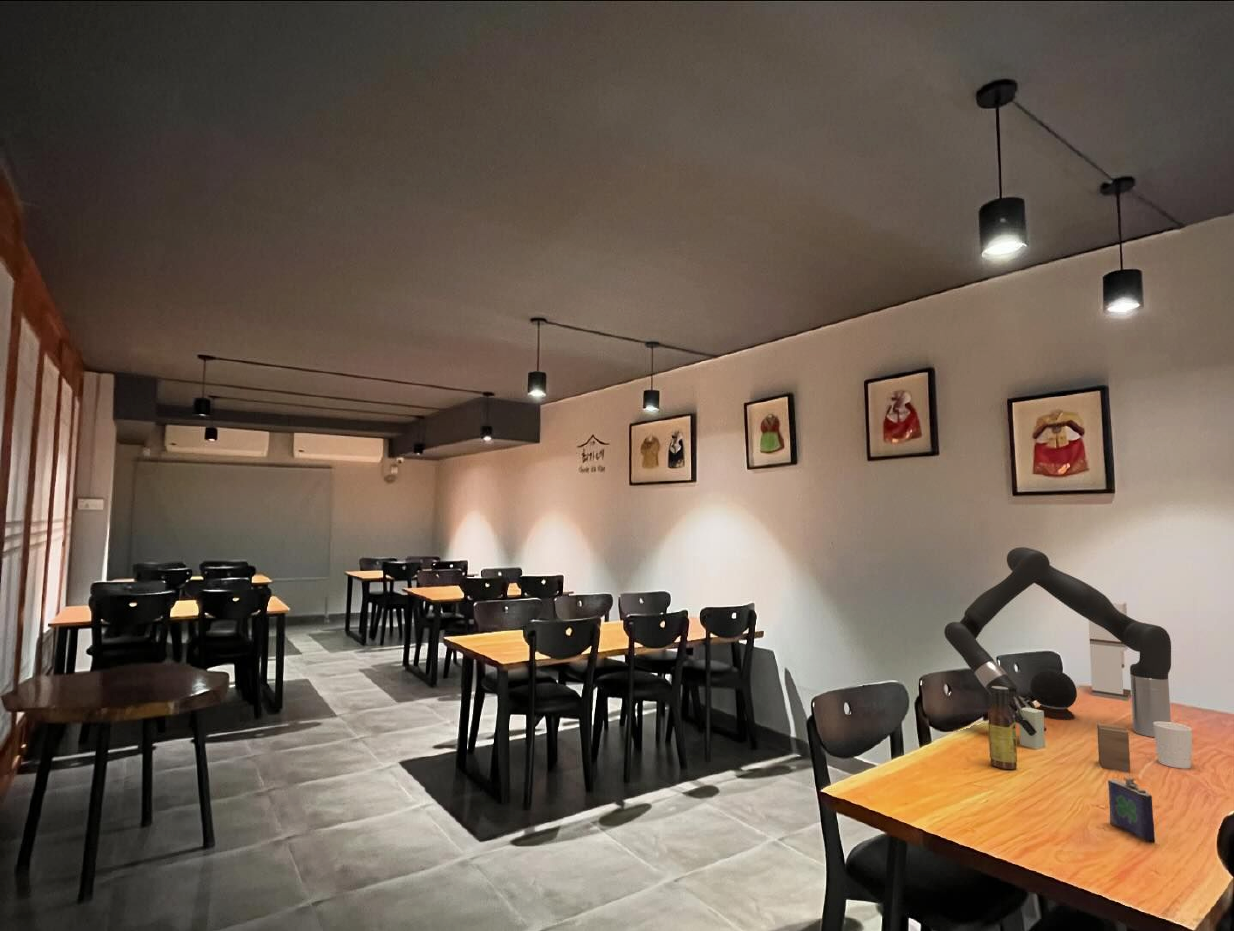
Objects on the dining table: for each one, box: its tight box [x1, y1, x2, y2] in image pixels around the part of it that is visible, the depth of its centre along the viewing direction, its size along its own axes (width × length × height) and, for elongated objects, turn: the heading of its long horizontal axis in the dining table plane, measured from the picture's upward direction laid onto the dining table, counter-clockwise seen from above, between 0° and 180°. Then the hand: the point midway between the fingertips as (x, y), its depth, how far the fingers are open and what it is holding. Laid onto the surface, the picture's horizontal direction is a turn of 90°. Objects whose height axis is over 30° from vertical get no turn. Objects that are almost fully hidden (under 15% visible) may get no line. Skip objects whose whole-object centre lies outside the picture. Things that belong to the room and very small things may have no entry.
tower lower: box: [1097, 743, 1132, 774], centre depth 174 cm, size 6×6×5 cm
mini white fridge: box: [1088, 601, 1131, 701], centre depth 254 cm, size 11×11×35 cm
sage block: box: [1018, 708, 1046, 750], centre depth 190 cm, size 4×4×10 cm
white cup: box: [1153, 722, 1193, 770], centre depth 177 cm, size 8×8×10 cm
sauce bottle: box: [987, 686, 1018, 770], centre depth 174 cm, size 7×6×20 cm
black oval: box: [1029, 668, 1078, 721], centre depth 223 cm, size 13×13×15 cm
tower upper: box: [1096, 722, 1130, 753], centre depth 174 cm, size 6×6×5 cm
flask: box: [1107, 777, 1156, 844], centre depth 136 cm, size 9×3×11 cm, turn 8°
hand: (1038, 732), depth 188 cm, fingers closed on sage block, 4 cm apart
